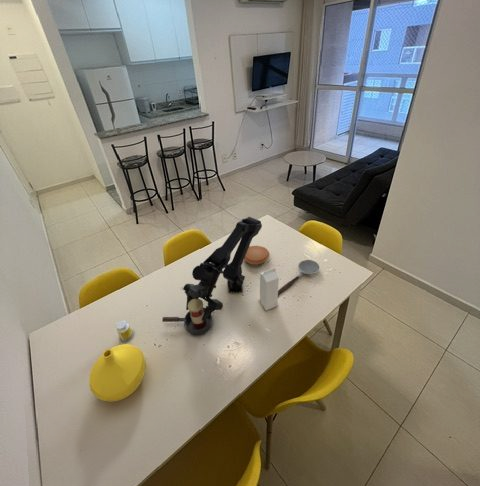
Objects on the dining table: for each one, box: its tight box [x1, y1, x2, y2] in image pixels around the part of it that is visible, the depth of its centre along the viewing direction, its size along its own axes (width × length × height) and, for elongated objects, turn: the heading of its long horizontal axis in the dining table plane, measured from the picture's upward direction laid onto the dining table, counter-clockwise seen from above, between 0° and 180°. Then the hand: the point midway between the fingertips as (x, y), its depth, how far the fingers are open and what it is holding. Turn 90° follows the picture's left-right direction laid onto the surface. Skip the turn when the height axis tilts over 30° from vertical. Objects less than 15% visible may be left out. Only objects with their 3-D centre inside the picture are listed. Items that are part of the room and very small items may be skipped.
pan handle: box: [162, 316, 185, 323], centre depth 112 cm, size 10×2×2 cm, turn 89°
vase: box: [89, 343, 147, 402], centre depth 90 cm, size 18×18×19 cm
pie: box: [243, 245, 270, 267], centre depth 146 cm, size 15×16×5 cm
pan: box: [183, 306, 214, 337], centre depth 113 cm, size 12×12×4 cm
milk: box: [259, 267, 280, 311], centre depth 115 cm, size 6×6×22 cm
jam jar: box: [188, 298, 206, 329], centre depth 110 cm, size 6×6×13 cm
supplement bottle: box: [115, 319, 133, 342], centre depth 108 cm, size 5×5×8 cm
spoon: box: [278, 259, 320, 296], centre depth 132 cm, size 11×33×3 cm, turn 129°
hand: (194, 315), depth 109 cm, fingers open, 9 cm apart
